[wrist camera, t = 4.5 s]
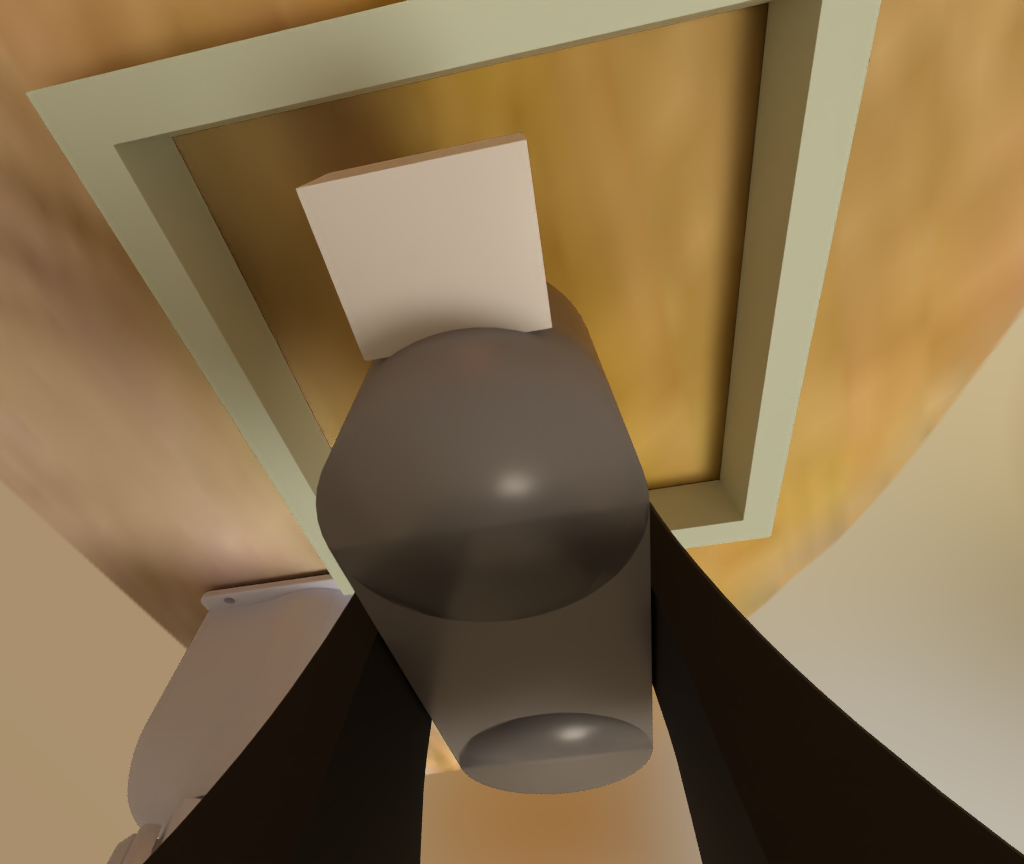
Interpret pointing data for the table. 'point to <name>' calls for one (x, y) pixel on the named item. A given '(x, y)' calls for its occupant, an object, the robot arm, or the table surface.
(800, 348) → the sage frame
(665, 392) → the table surface
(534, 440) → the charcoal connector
